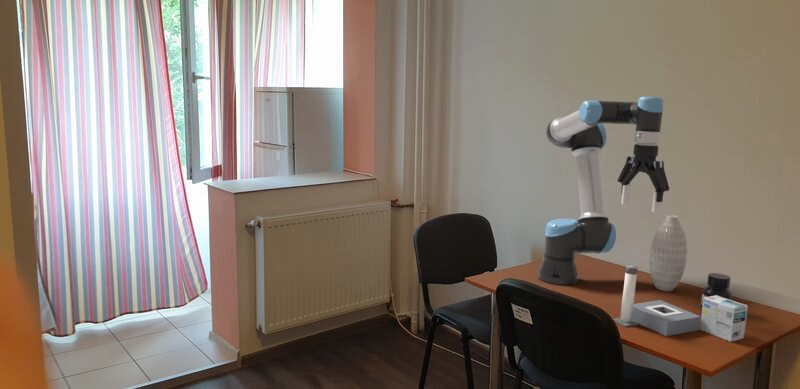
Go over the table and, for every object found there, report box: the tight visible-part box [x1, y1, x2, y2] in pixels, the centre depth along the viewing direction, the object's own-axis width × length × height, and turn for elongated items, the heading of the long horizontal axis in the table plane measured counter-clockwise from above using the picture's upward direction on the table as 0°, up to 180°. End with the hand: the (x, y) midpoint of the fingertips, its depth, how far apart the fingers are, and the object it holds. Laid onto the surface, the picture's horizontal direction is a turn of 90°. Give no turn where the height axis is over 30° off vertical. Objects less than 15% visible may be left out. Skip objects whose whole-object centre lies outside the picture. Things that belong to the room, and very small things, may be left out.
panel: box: [632, 299, 701, 337], centre depth 198 cm, size 16×14×5 cm
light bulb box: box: [699, 295, 749, 342], centre depth 190 cm, size 11×7×11 cm, turn 29°
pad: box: [612, 317, 641, 328], centre depth 198 cm, size 6×6×1 cm
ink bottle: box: [700, 272, 733, 309], centre depth 213 cm, size 10×9×12 cm
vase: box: [648, 214, 688, 292], centre depth 232 cm, size 13×13×28 cm
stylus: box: [619, 264, 639, 323], centre depth 197 cm, size 4×4×18 cm
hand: (639, 207), depth 207 cm, fingers open, 13 cm apart
